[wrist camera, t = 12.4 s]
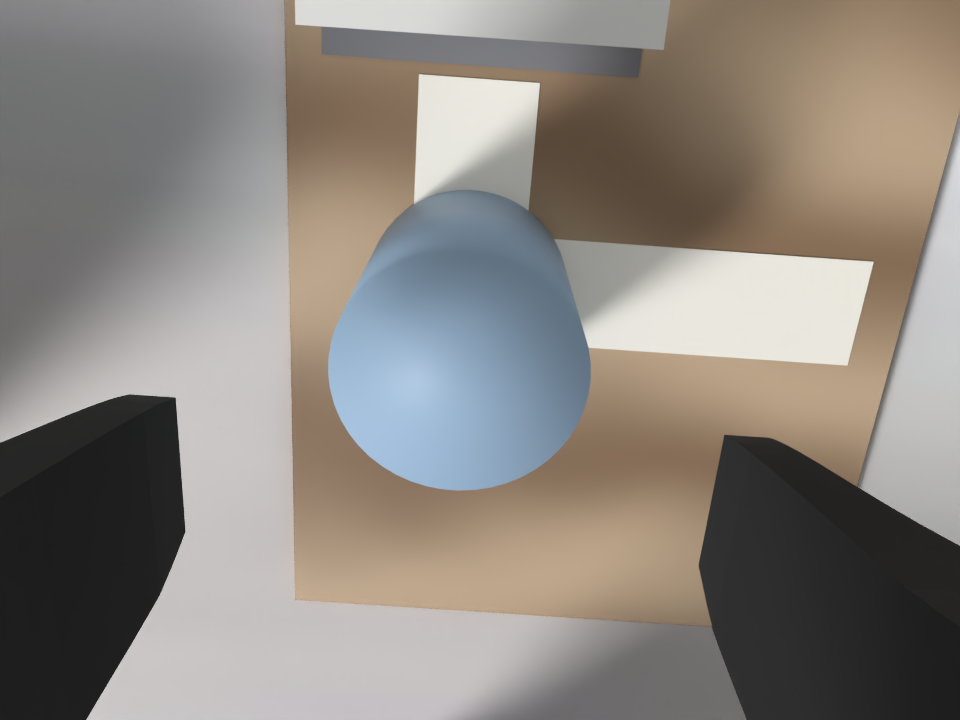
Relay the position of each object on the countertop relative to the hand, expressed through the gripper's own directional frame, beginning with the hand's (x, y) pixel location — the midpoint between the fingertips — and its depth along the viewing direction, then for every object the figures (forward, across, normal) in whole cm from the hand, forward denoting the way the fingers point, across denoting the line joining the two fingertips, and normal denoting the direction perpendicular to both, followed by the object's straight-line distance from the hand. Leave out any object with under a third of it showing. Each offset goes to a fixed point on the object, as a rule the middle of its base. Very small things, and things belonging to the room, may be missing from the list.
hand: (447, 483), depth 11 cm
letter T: (+9, -4, 0) cm, 9 cm away
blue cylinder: (+9, 0, 0) cm, 9 cm away
